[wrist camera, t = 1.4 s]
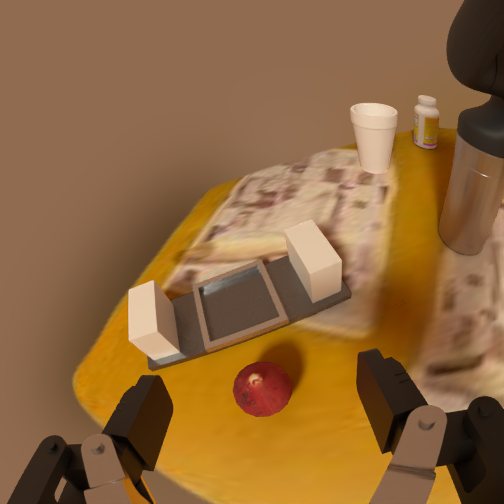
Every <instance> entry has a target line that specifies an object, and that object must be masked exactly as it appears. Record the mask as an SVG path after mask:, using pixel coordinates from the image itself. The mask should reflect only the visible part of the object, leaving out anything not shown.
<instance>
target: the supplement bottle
mask: <svg viewBox="0 0 504 504" xmlns="http://www.w3.org/2000/svg"><path fill="white" fill-rule="evenodd" d="M418 102H419V105H416V106H415V110H414V137H413V140H414V143H415V144H416V145H418V146H420V147H422V148H425V149H434V148H436V146H437V140H438V128H439V111H438V110H437V109H436V108H435V105H436V99H434V98H432V97H429V96H423V95H420V96H418Z"/></svg>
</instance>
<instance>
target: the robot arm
mask: <svg viewBox="0 0 504 504" xmlns="http://www.w3.org/2000/svg"><path fill="white" fill-rule="evenodd" d="M447 60H448V64H449V67H450V70H451V72H452V73H453V75H454V76H455V78H456V79H457V80H458V81H459V82H460V83H461V84H463V85H465V86H467V87H469V88H471V89H473V90H477V91H480V92H483V93H487V94H491V95H492V96H491V98H490V100H489V101H488V102H486V103H485V104H483V105H481V106H479V107H475V108H470V109H466V110H464V111H462V112H461V113H460V115H459V119H458V128H457V136H456V144H455V152H454V158H453V164H452V170H451V175H450V180H449V185H448V189H447V194H446V198H445V202H444V206H443V210H442V214H441V218H440V221H439V225H438V231H439V235H440V237H441V239H442V240H443V241H444V243H445V244H446V245H447V246H448V247H450V248H451V249H452V250H454V251H456V252H458V253H461V254H464V255H474V254H477V253H479V252H480V251H481V250H482V249H483V246H484V244H485V242H486V240H487V238H488V235H489V233H490V231H491V228H492V226H493V223H494V221H495V218H496V216H497V213H498V210H499V208H500V205H501V202H502V199H503V196H504V0H464V2H463V4H462V6H461V7H460V9H459V11H458V13H457V15H456V17H455V19H454V21H453V23H452V25H451V28H450V31H449V34H448V40H447ZM356 384H357V391H358V394H359V397H360V399H361V402H362V404H363V407H364V409H365V412H366V414H367V417H368V419H369V422H370V424H371V427H372V429H373V432H374V434H375V437H376V439H377V442H378V444H379V447H380V450H381V452H382V454H384V453H387V452H390V451H391V452H392V455H393V457H392V460H391V462H390V464H389V466H388V468H387V470H386V472H385V474H384V476H383V478H382V480H381V482H380V484H379V486H378V488H377V490H376V491H375V493H374V495H373V497H372V499H371V500H370V502H369V504H426V502H427V500H428V497H429V495H430V492H431V489H432V486H433V484H434V481H435V477H436V473H434V470H435V467H438V466H444V465H446V466H447V468H448V470H449V473H450V475H451V478H452V480H453V483H454V485H455V488H456V490H457V493H458V496H459V498H460V501H461V504H504V409H503V408H502V406H501V405H500V404H499V402H498V401H497V400H495V399H494V398H492V397H488V396H482V397H478V398H476V399H474V400H473V401H472V402H471V403H470V405H469V407H468V409H467V410H462V411H456V412H450V413H445V412H444V411H443V410H442V409H440V408H438V407H436V406H432V405H428V403H427V402H426V400H425V399H424V397H423V396H422V394H421V393H420V391H419V390H418V388H417V387H416V385H415V384H414V382H413V381H412V380H411V378H410V376H409V375H408V373H406V370H405V369H404V367H403V366H402V365H401V363H400V362H398V361H396V360H395V359H393V358H392V357H389V358H386V359H384V358H383V356H382V354H381V353H380V351H379V350H378V349H377V348H375V349H371V350H367V351H363V352H359V353H358V362H357V379H356ZM119 402H120V403H118V405H117V407H116V410H114V412H113V414H112V416H111V417H110V419H109V421H108V423H107V425H106V426H105V428H104V430H103V432H102V433H101V434H94V435H91V436H90V437H88V438H87V439H86V440H85V441H84V442H83V444H73V445H67V443H66V442H65V441H64V440H63V438H62V437H60V436H56V435H54V436H49V437H47V438H45V439H44V440H43V441H42V442H41V444H40V445H39V447H38V449H37V450H36V452H35V453H34V455H33V457H32V459H31V460H30V462H29V464H28V466H27V468H26V469H25V471H24V473H23V474H22V476H21V478H20V480H19V482H18V484H17V485H16V487H15V489H14V491H13V493H12V495H11V497H10V499H9V501H8V503H7V504H157V503H156V502H155V499H154V498H153V496H152V494H151V492H150V490H149V488H148V486H147V484H146V482H145V480H144V479H143V477H142V476H141V474H142V471H143V470H148V471H154V468H155V465H156V462H157V459H158V456H159V453H160V450H161V447H162V444H163V441H164V438H165V435H166V432H167V429H168V426H169V423H170V420H171V417H172V414H173V403H172V400H171V398H170V396H169V394H168V391H167V389H166V387H165V385H164V382H163V380H162V378H161V377H160V376H159V375H142V376H141V377H140V378H139V380H138V382H137V384H136V386H132V387H131V388H130V389H129V390H127V391H126V392H125V393H124V394H123V396H122V398H121V400H120V401H119ZM62 477H63V478H64V479H65V480H66V481H67V483H66V485H65V487H64V489H63V492H62V494H61V496H60V499H59V501H58V502H56V500H55V496H54V494H55V491H56V488H57V486H58V484H59V482H60V480H61V478H62Z"/></svg>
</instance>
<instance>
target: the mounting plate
mask: <svg viewBox="0 0 504 504" xmlns="http://www.w3.org/2000/svg"><path fill="white" fill-rule="evenodd" d="M192 287H193V292H191V293H189V294H186V295H183V296H181V297H178V298H175V299H173V300H170V301H171V302H172V304H173V306H174V314H175V321H176V328H177V335H178V341H179V348H180V353H176V354H173V355H170V356H167V357H163V358H160V359H157V360H153V359H152V358H150V357H149V356H148V355H147V358H148V368H149V369H150V370H151V371H155V370H158V369H162V368H165V367H169V366H172V365H176V364H179V363H182V362H186V361H189V360H192V359H195V358H198V357H202V356H205V355H208V354H211V353H214V352H217V351H220V350H223V349H226V348H229V347H231V346H234V345H237V344H240V343H243V342H245V341H248V340H251V339H254V338H256V337H259V336H262V335H264V334H267V333H270V332H272V331H275V330H277V329H280V328H282V327H285V326H287V325H290V324H292V323H295V322H297V321H300V320H302V319H304V318H307V317H309V316H311V315H314V314H316V313H318V312H321V311H323V310H325V309H327V308H330V307H332V306H334V305H336V304H339V303H341V302H343V301H345V300H347V299H349V298H351V292H350V291H349V289H348V288H347V286H346V285H345V283H344V282H343V280H342V279H341V291H340V292H338V293H335V294H333V295H331V296H329V297H326V298H324V299H322V300H319V301H317V302H315V303H312V301H311V299H310V297H309V295H308V293H307V291H306V290H305V288H304V286H303V284H302V282H301V280H300V278H299V277H298V275H297V273H296V271H295V269H294V267H293V266H292V264H291V262H290V259H289V255H288V256H285V257H283V258H280V259H278V260H275V261H273V262H270V263H267V264H265V265H264V264H263V262H262V259H260V260H258V261H255V262H253V263H250V264H247V265H245V266H242V267H240V268H237V269H234V270H232V271H229V272H227V273H224V274H221V275H219V276H216V277H213V278H211V279H208V280H206V281H203V282H200V283H198V284H195V285H192Z"/></svg>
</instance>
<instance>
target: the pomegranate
mask: <svg viewBox="0 0 504 504" xmlns="http://www.w3.org/2000/svg"><path fill="white" fill-rule="evenodd" d="M233 393H234V397H235V400H236V403H237V404H238V405H239V406H240V407H241V409H242V410H243V411H244V412H245V413H248V414H250V415H253V416H256V417H265V416H271V415H273V414H275V413H277V412H280V411H281V410H282V409H283V408H284V407H285V406H286V405H287V404H288V402H289V399H290V397H291V395H292V382H291V380H290V378H289V376H288V374H287V373H286V372H285V371H284V370H282V369H281V368H280V367H279V366H277V365H275V364H272V363H269V362H255V363H253V364H250V365H247V366H246V367H245V368H244V369H242V370H241V371H240V372H239V374H238V375H237V377H236V379H235V381H234V387H233Z"/></svg>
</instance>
